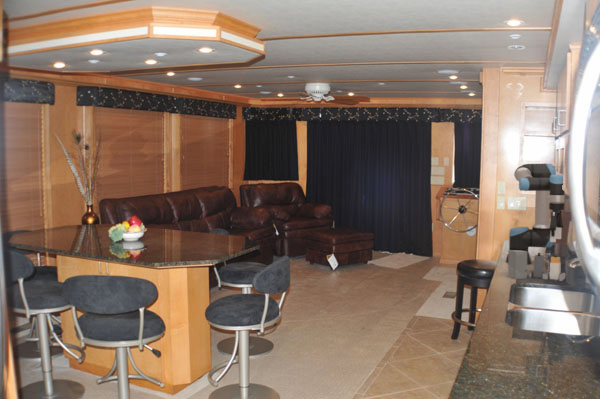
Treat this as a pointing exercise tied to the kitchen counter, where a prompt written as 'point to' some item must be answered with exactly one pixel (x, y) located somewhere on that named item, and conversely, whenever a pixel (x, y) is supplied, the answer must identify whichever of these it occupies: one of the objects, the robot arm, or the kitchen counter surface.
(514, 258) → the skincare box
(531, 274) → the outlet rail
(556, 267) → the plug
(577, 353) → the kitchen counter surface
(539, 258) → the twin plug
